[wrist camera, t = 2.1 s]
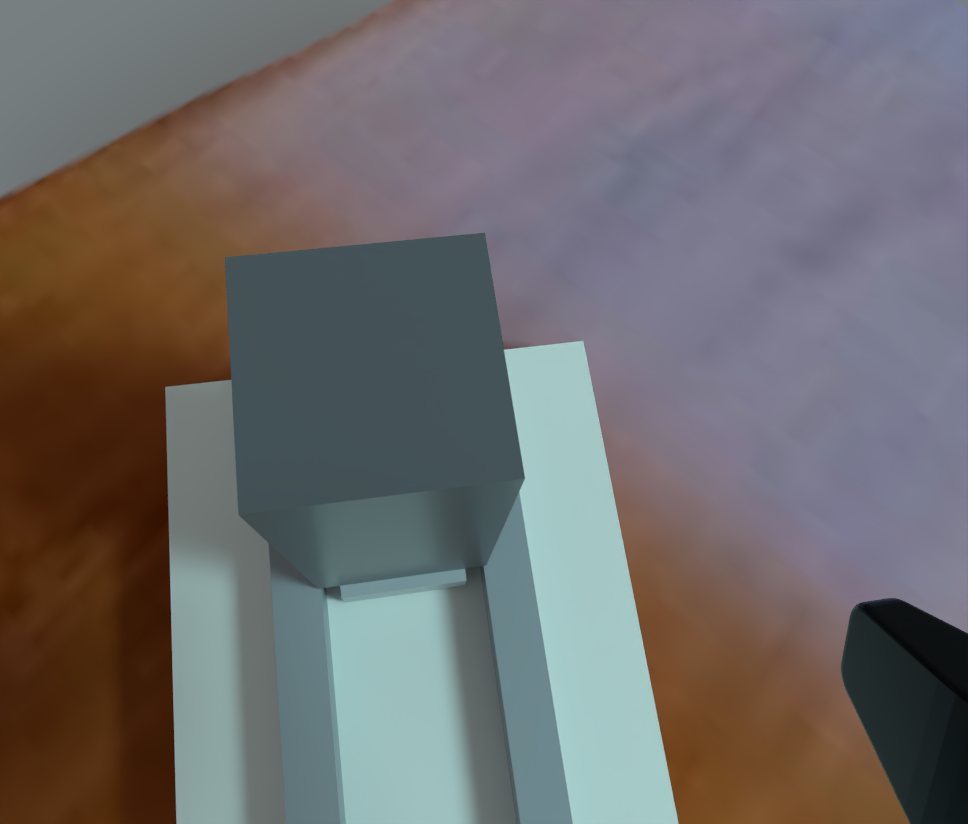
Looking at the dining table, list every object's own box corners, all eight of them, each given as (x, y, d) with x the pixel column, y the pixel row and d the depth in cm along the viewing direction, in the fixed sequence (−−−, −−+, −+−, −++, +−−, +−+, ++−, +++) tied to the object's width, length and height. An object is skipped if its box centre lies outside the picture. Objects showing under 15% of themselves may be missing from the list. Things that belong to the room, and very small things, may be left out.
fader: (485, 583, 18) (528, 498, 10) (324, 605, 18) (239, 535, 10) (460, 412, 19) (481, 216, 11) (310, 429, 19) (224, 241, 11)
